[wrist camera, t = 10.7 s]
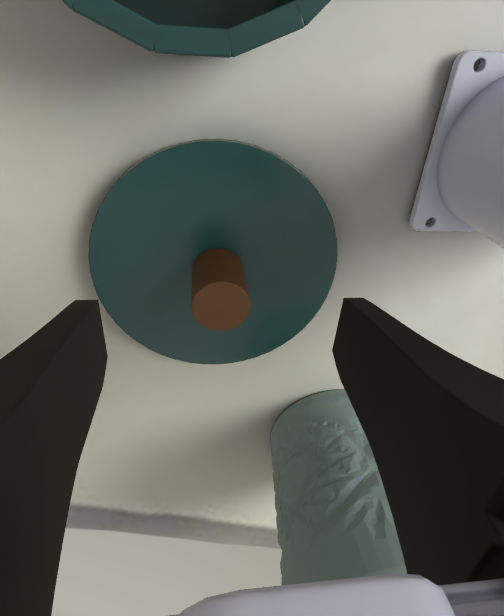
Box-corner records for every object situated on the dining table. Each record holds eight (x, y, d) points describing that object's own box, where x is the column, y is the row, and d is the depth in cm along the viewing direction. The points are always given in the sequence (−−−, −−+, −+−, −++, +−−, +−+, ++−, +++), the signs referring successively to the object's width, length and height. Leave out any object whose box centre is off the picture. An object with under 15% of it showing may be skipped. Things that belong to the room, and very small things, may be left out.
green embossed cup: (392, 455, 33) (478, 637, 23) (270, 485, 33) (303, 677, 23) (387, 365, 27) (499, 554, 17) (241, 402, 27) (267, 608, 17)
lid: (351, 140, 19) (390, 165, 15) (314, 349, 25) (334, 402, 22) (71, 130, 17) (37, 154, 13) (110, 356, 24) (95, 414, 20)
